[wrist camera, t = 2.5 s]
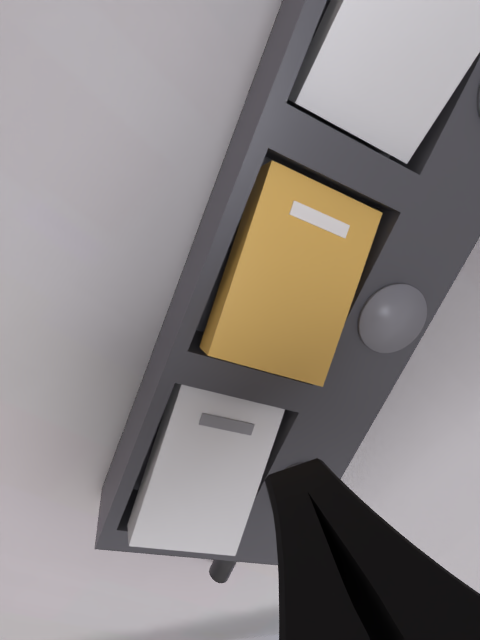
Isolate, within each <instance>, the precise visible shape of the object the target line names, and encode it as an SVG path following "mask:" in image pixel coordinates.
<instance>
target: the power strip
mask: <svg viewBox="0 0 480 640" xmlns="http://www.w3.org/2000/svg"><path fill="white" fill-rule="evenodd" d="M329 3H330V0H283V1H282V4H281V7H280V9H279V12H278V15H277V17H276V20H275V23H274V26H273V28H272V31H271V34H270V36H269V39H268V42H267V44H266V47H265V50H264V53H263V55H262V58H261V61H260V63H259V66H258V69H257V71H256V74H255V77H254V80H253V82H252V85H251V88H250V90H249V93H248V96H247V98H246V101H245V104H244V107H243V109H242V112H241V115H240V117H239V120H238V123H237V125H236V128H235V131H234V134H233V136H232V139H231V142H230V144H229V147H228V150H227V152H226V155H225V158H224V161H223V163H222V166H221V169H220V171H219V174H218V177H217V179H216V182H215V185H214V188H213V190H212V193H211V196H210V198H209V201H208V204H207V206H206V209H205V212H204V215H203V217H202V220H201V223H200V225H199V228H198V231H197V234H196V236H195V239H194V242H193V244H192V247H191V250H190V252H189V255H188V258H187V261H186V263H185V266H184V269H183V271H182V274H181V277H180V279H179V282H178V285H177V288H176V290H175V293H174V296H173V298H172V301H171V304H170V306H169V309H168V312H167V315H166V317H165V320H164V323H163V325H162V328H161V331H160V333H159V336H158V339H157V342H156V344H155V347H154V350H153V352H152V355H151V358H150V360H149V363H148V366H147V369H146V371H145V374H144V377H143V379H142V382H141V385H140V387H139V390H138V393H137V396H136V398H135V401H134V404H133V406H132V409H131V412H130V414H129V417H128V420H127V423H126V425H125V428H124V431H123V433H122V436H121V439H120V441H119V444H118V447H117V450H116V452H115V455H114V458H113V460H112V463H111V466H110V468H109V471H108V474H107V477H106V479H105V482H104V485H103V487H102V492H101V501H100V509H99V517H98V525H97V534H96V542H95V549H100V550H111V551H122V552H134V553H145V554H156V555H168V556H179V557H190V558H202V559H213V560H214V561H213V563H212V565H211V567H210V569H209V573H210V576H211V577H212V579H213V580H214V581H216V582H218V583H224V582H226V581H227V580H228V578H229V576H230V574H231V572H232V570H233V568H234V566H235V564H236V562H247V563H258V564H270V565H278V557H277V544H276V531H275V524H274V516H273V511H272V507H271V503H270V499H269V495H268V492H267V488H266V484H265V479H266V477H267V476H268V475H269V474H272V473H275V472H278V471H281V470H284V469H287V468H290V467H293V466H296V465H299V464H301V463H304V462H307V461H310V460H313V459H316V458H318V459H320V460H322V461H323V462H324V463H325V464H326V465H327V466H328V467H329V468H330V469H331V471H332V472H333V473H334V474H335V475H336V476H337V477H338V478H339V479H341V477H342V475H343V474H344V472H345V470H346V468H347V467H348V465H349V463H350V461H351V460H352V458H353V456H354V455H355V453H356V451H357V449H358V448H359V446H360V444H361V442H362V441H363V439H364V437H365V435H366V434H367V432H368V430H369V428H370V427H371V425H372V423H373V421H374V420H375V418H376V416H377V414H378V413H379V411H380V409H381V408H382V406H383V404H384V402H385V401H386V399H387V397H388V395H389V394H390V392H391V390H392V388H393V387H394V385H395V383H396V381H397V380H398V378H399V376H400V374H401V373H402V371H403V369H404V367H405V366H406V364H407V362H408V361H409V359H410V357H411V355H412V354H413V352H414V350H415V348H416V347H417V345H418V343H419V341H420V340H421V338H422V336H423V334H424V333H425V331H426V329H427V327H428V326H429V324H430V322H431V320H432V319H433V317H434V315H435V314H436V312H437V310H438V308H439V307H440V305H441V303H442V301H443V300H444V298H445V296H446V294H447V293H448V291H449V289H450V287H451V286H452V284H453V282H454V280H455V279H456V277H457V275H458V273H459V272H460V270H461V268H462V267H463V265H464V263H465V261H466V260H467V258H468V256H469V254H470V253H471V251H472V249H473V247H474V246H475V244H476V242H477V240H478V239H479V237H480V52H479V54H478V55H477V57H476V58H475V60H474V62H473V63H472V65H471V66H470V68H469V69H468V71H467V72H466V74H465V75H464V77H463V78H462V80H461V82H460V83H459V85H458V86H457V88H456V89H455V91H454V92H453V94H452V95H451V97H450V98H449V100H448V102H447V103H446V105H445V106H444V108H443V109H442V111H441V112H440V114H439V115H438V117H437V119H436V120H435V122H434V123H433V125H432V126H431V128H430V129H429V131H428V132H427V134H426V135H425V137H424V139H423V140H422V142H421V143H420V145H419V146H418V148H417V149H416V151H415V152H414V154H413V155H412V157H411V159H410V160H409V162H408V163H407V164H406V163H404V162H402V161H401V160H399V159H397V158H395V157H393V156H391V155H390V154H388V153H386V152H384V151H382V150H380V149H379V148H377V147H375V146H373V145H371V144H369V143H367V142H366V141H364V140H362V139H360V138H358V137H356V136H355V135H353V134H351V133H349V132H347V131H345V130H344V129H342V128H340V127H338V126H336V125H334V124H333V123H331V122H329V121H327V120H325V119H323V118H322V117H320V116H318V115H316V114H314V113H312V112H310V111H309V110H307V109H305V108H303V107H301V106H299V105H298V104H296V103H294V102H292V101H291V100H289V99H288V97H289V95H290V92H291V90H292V87H293V85H294V82H295V80H296V77H297V75H298V72H299V70H300V67H301V65H302V62H303V60H304V57H305V55H306V53H307V50H308V48H309V46H310V44H311V42H312V40H313V37H314V35H315V33H316V31H317V29H318V27H319V24H320V22H321V20H322V18H323V16H324V13H325V11H326V9H327V7H328V5H329ZM271 160H273V161H275V162H277V163H279V164H281V165H283V166H285V167H287V168H290V169H292V170H294V171H296V172H298V173H300V174H302V175H304V176H306V177H308V178H311V179H313V180H315V181H317V182H319V183H321V184H323V185H325V186H327V187H329V188H331V189H334V190H336V191H338V192H340V193H342V194H344V195H346V196H348V197H350V198H352V199H355V200H357V201H359V202H361V203H363V204H365V205H367V206H369V207H371V208H373V209H376V210H378V211H380V212H382V216H381V219H380V222H379V225H378V228H377V231H376V234H375V237H374V240H373V242H372V245H371V248H370V251H369V254H368V257H367V260H366V263H365V266H364V269H363V272H362V275H361V277H360V280H359V283H358V286H357V289H356V292H355V295H354V298H353V301H352V304H351V307H350V309H349V312H348V315H347V318H346V321H345V324H344V327H343V330H342V333H341V336H340V339H339V341H338V344H337V347H336V350H335V353H334V356H333V359H332V362H331V365H330V368H329V371H328V373H327V376H326V379H325V382H324V385H323V387H321V386H317V385H314V384H310V383H306V382H303V381H299V380H295V379H292V378H288V377H284V376H281V375H277V374H273V373H270V372H266V371H262V370H259V369H255V368H251V367H248V366H244V365H240V364H237V363H233V362H229V361H226V360H222V359H218V358H215V357H211V356H208V355H207V354H206V353H205V352H204V351H203V350H202V349H201V348H200V347H199V346H200V343H201V340H202V337H203V334H204V331H205V328H206V325H207V322H208V319H209V316H210V313H211V310H212V307H213V304H214V301H215V298H216V294H217V291H218V288H219V285H220V282H221V279H222V276H223V273H224V270H225V267H226V264H227V261H228V258H229V255H230V252H231V249H232V246H233V243H234V240H235V236H236V233H237V230H238V227H239V224H240V221H241V218H242V215H243V212H244V209H245V206H246V203H247V200H248V198H249V195H250V193H251V190H252V188H253V185H254V183H255V180H256V178H257V175H258V173H259V170H260V168H261V167H262V166H263V165H265V164H266V163H268V162H270V161H271ZM175 383H177V384H182V385H186V386H190V387H194V388H198V389H202V390H207V391H211V392H215V393H219V394H223V395H227V396H231V397H236V398H240V399H244V400H248V401H252V402H256V403H261V404H265V405H269V406H273V407H277V408H281V409H285V411H284V414H283V417H282V420H281V423H280V426H279V429H278V432H277V435H276V438H275V441H274V444H273V447H272V450H271V453H270V456H269V458H268V461H267V464H266V467H265V470H264V473H263V476H262V479H261V482H260V485H259V488H258V491H257V494H256V497H255V500H254V503H253V505H252V508H251V511H250V514H249V517H248V520H247V523H246V526H245V529H244V532H243V535H242V538H241V541H240V544H239V547H238V550H237V553H236V555H235V556H229V555H218V554H208V553H197V552H186V551H175V550H165V549H154V548H143V547H132V546H129V542H128V527H127V524H128V521H129V518H130V515H131V512H132V509H133V506H134V503H135V500H136V496H137V493H138V490H139V487H140V484H141V481H142V478H143V475H144V472H145V469H146V466H147V463H148V460H149V457H150V454H151V450H152V447H153V444H154V441H155V438H156V435H157V432H158V429H159V426H160V423H161V420H162V417H163V414H164V411H165V407H166V404H167V402H168V399H169V397H170V394H171V392H172V389H173V387H174V384H175Z"/></svg>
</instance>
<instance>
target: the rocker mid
mask: <svg viewBox="0 0 480 640" xmlns="http://www.w3.org/2000/svg"><path fill="white" fill-rule="evenodd" d="M381 216H382V212H380V211H378V210H376V209H373V208H371V207H369V206H367V205H365V204H363V203H361V202H359V201H357V200H355V199H352V198H350V197H348V196H346V195H344V194H342V193H340V192H338V191H336V190H334V189H331V188H329V187H327V186H325V185H323V184H321V183H319V182H317V181H315V180H313V179H311V178H308V177H306V176H304V175H302V174H300V173H298V172H296V171H294V170H292V169H290V168H287V167H285V166H283V165H281V164H279V163H277V162H275V161H273V160H271V161H270V162H268V163H266V164H265V165H263V166H262V167H261V168H260V170H259V173H258V175H257V178H256V180H255V183H254V185H253V188H252V190H251V193H250V195H249V198H248V200H247V203H246V206H245V209H244V212H243V215H242V218H241V221H240V224H239V227H238V230H237V233H236V236H235V240H234V243H233V246H232V249H231V252H230V255H229V258H228V261H227V264H226V267H225V270H224V273H223V276H222V279H221V282H220V285H219V288H218V291H217V294H216V298H215V301H214V304H213V307H212V310H211V313H210V316H209V319H208V322H207V325H206V328H205V331H204V334H203V337H202V340H201V343H200V346H199V347H200V348H201V349H202V350H203V351H204V352H205V353H206V354H207V355H208V356H211V357H215V358H218V359H222V360H226V361H229V362H233V363H237V364H240V365H244V366H248V367H251V368H255V369H259V370H262V371H266V372H270V373H273V374H277V375H281V376H284V377H288V378H292V379H295V380H299V381H303V382H306V383H310V384H314V385H317V386H321V387H323V385H324V382H325V379H326V376H327V373H328V371H329V368H330V365H331V362H332V359H333V356H334V353H335V350H336V347H337V344H338V341H339V339H340V336H341V333H342V330H343V327H344V324H345V321H346V318H347V315H348V312H349V309H350V307H351V304H352V301H353V298H354V295H355V292H356V289H357V286H358V283H359V280H360V277H361V275H362V272H363V269H364V266H365V263H366V260H367V257H368V254H369V251H370V248H371V245H372V242H373V240H374V237H375V234H376V231H377V228H378V225H379V222H380V219H381Z"/></svg>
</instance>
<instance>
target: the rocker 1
mask: <svg viewBox="0 0 480 640" xmlns="http://www.w3.org/2000/svg"><path fill="white" fill-rule="evenodd" d="M284 411H285V409H281V408H277V407H273V406H269V405H265V404H261V403H256V402H252V401H248V400H244V399H240V398H236V397H231V396H227V395H223V394H219V393H215V392H211V391H207V390H202V389H198V388H194V387H190V386H186V385H182V384H177V383H175V384H174V387H173V389H172V392H171V394H170V397H169V399H168V402H167V404H166V407H165V411H164V414H163V417H162V420H161V423H160V426H159V429H158V432H157V435H156V438H155V441H154V444H153V447H152V450H151V454H150V457H149V460H148V463H147V466H146V469H145V472H144V475H143V478H142V481H141V484H140V487H139V490H138V493H137V496H136V500H135V503H134V506H133V509H132V512H131V515H130V518H129V521H128V524H127V527H128V542H129V546H132V547H143V548H154V549H165V550H175V551H186V552H197V553H208V554H218V555H229V556H235V555H236V553H237V550H238V547H239V544H240V541H241V538H242V535H243V532H244V529H245V526H246V523H247V520H248V517H249V514H250V511H251V508H252V505H253V503H254V500H255V497H256V494H257V491H258V488H259V485H260V482H261V479H262V476H263V473H264V470H265V467H266V464H267V461H268V458H269V456H270V453H271V450H272V447H273V444H274V441H275V438H276V435H277V432H278V429H279V426H280V423H281V420H282V417H283V414H284Z"/></svg>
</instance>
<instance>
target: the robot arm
mask: <svg viewBox="0 0 480 640" xmlns="http://www.w3.org/2000/svg"><path fill="white" fill-rule="evenodd" d="M265 484H266V488H267V492H268V495H269V499H270V503H271V507H272V511H273V516H274V524H275V531H276V544H277V557H278V572H279V640H480V594H479V593H478V592H476V591H475V590H473V589H472V588H470V587H469V586H468V585H466V584H465V583H463V582H462V581H461V580H459V579H458V578H457V577H455V576H454V575H452V574H451V573H450V572H448V571H447V570H446V569H444V568H443V567H442V566H440V565H439V564H438V563H436V562H435V561H434V560H433V559H431V558H430V557H429V556H427V555H426V554H425V553H424V552H422V551H421V550H420V549H418V548H417V547H416V546H415V545H413V544H412V543H411V542H410V541H408V540H407V539H406V538H405V537H404V536H402V535H401V534H400V533H399V532H398V531H396V530H395V529H394V528H393V527H392V526H391V525H389V524H388V523H387V522H386V521H385V520H384V519H382V518H381V517H380V516H379V515H378V514H377V513H375V512H374V511H373V510H372V509H371V508H370V507H369V506H368V505H367V504H365V503H364V502H363V501H362V500H361V499H360V498H359V497H358V496H357V495H356V494H355V493H354V492H353V491H352V490H350V489H349V488H348V487H347V486H346V485H345V484H344V483H343V482H342V481H341V480H340V479H339V478H338V477H337V476H336V475H335V474H334V473H333V472H332V471H331V469H330V468H329V467H328V466H327V465H326V464H325V463H324V462H323V461H322V460H320V459H318V458H316V459H313V460H310V461H307V462H304V463H301V464H299V465H296V466H293V467H290V468H287V469H284V470H281V471H278V472H275V473H272V474H269V475H268V476H267V477H266V479H265Z"/></svg>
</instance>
